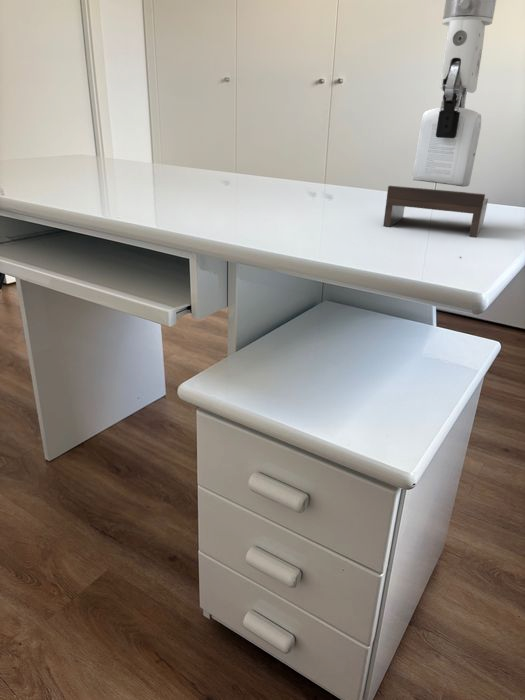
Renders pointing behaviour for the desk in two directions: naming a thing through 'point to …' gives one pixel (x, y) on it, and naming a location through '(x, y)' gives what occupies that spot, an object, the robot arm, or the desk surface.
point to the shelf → (435, 204)
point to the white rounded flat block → (447, 149)
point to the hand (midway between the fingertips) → (448, 136)
